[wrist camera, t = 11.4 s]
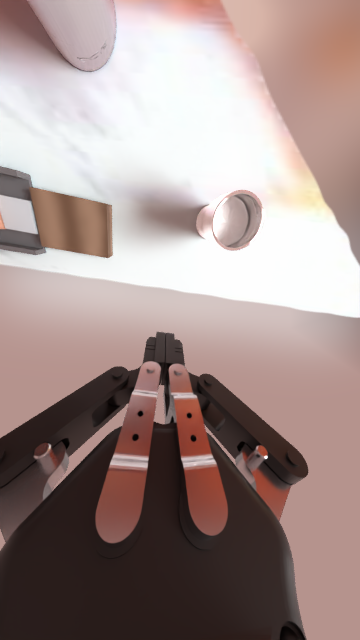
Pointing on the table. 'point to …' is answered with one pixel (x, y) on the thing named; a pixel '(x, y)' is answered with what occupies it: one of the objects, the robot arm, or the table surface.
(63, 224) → the walnut board
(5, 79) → the table surface
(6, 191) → the charcoal tray
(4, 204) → the grey tile
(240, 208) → the beer glass
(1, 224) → the terracotta tile
